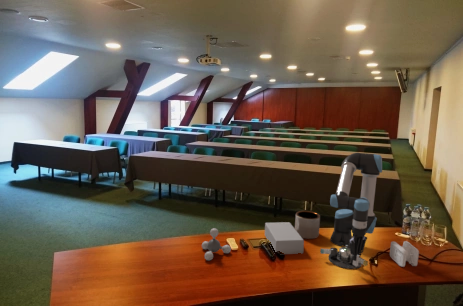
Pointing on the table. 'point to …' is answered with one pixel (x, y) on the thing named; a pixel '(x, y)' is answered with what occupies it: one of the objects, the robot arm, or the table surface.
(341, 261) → the tribrach base
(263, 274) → the table surface
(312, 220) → the planter
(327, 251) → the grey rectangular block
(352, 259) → the screw
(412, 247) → the cable organizer
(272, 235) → the box
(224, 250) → the molecule model
